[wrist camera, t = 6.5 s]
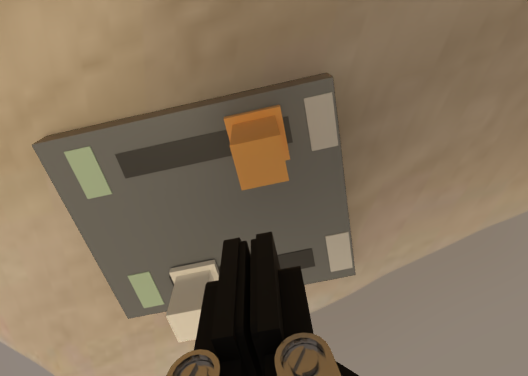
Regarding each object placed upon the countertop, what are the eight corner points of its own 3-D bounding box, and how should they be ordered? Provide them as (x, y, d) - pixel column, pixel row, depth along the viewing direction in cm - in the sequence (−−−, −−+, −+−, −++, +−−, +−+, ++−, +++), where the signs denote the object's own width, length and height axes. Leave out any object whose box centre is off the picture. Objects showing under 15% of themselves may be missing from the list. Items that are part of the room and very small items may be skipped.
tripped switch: (279, 104, 24) (287, 124, 19) (289, 156, 26) (298, 185, 21) (224, 116, 24) (218, 139, 20) (237, 167, 26) (235, 198, 21)
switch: (214, 259, 30) (209, 302, 25) (226, 292, 31) (223, 338, 27) (170, 268, 30) (157, 312, 25) (184, 301, 32) (174, 347, 27)
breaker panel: (326, 72, 25) (333, 77, 23) (349, 260, 33) (355, 275, 31) (46, 136, 26) (30, 145, 24) (134, 303, 34) (127, 319, 32)
